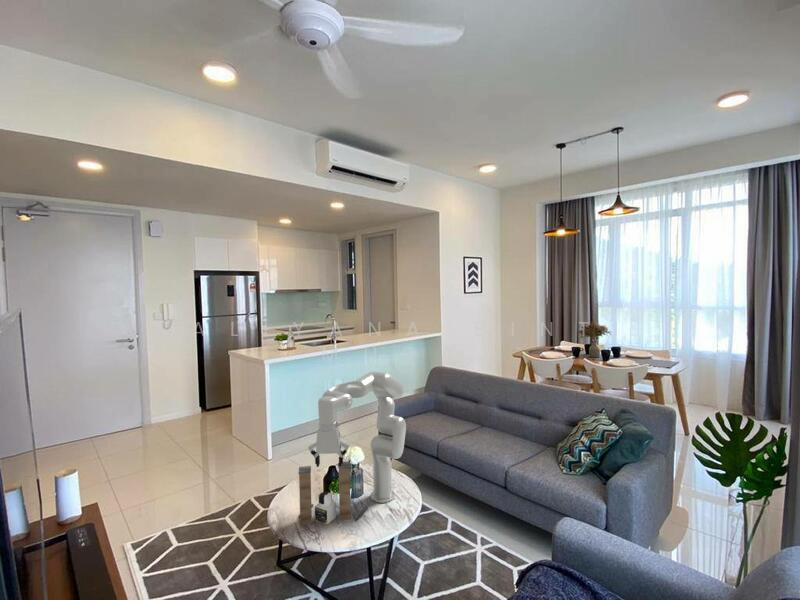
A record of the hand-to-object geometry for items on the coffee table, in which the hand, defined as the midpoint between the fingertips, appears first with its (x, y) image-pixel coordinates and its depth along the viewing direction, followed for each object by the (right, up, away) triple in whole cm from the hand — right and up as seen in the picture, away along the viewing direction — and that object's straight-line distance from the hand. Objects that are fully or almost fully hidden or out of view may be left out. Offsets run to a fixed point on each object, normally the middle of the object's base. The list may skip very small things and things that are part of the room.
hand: (329, 465), depth 164 cm
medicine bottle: (-5, -32, +16) cm, 36 cm away
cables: (-2, -32, +20) cm, 38 cm away
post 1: (-13, -32, +14) cm, 38 cm away
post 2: (+4, -32, +18) cm, 37 cm away
